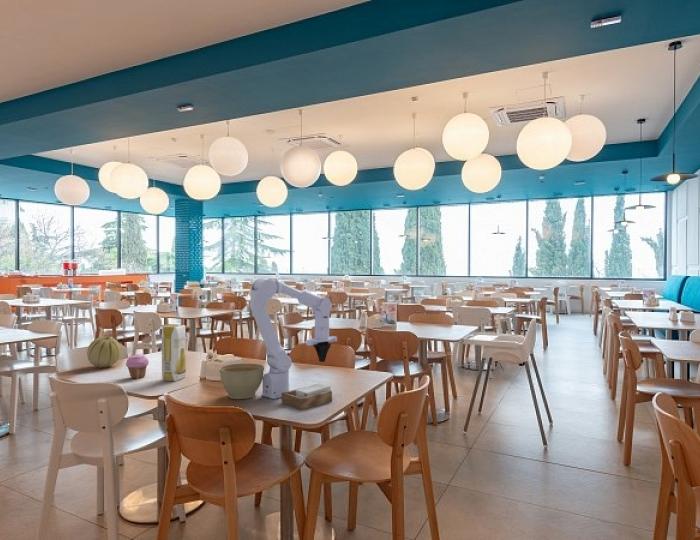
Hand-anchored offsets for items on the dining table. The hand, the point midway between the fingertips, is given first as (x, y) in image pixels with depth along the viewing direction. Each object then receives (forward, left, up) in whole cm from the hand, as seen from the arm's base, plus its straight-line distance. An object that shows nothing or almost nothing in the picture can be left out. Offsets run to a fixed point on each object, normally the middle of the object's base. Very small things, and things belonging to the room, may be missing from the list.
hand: (322, 361), depth 187 cm
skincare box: (-8, -11, -7) cm, 16 cm away
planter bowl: (-29, +12, -11) cm, 33 cm away
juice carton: (-35, +56, -11) cm, 67 cm away
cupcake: (-45, +70, -11) cm, 84 cm away
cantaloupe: (-48, +103, -11) cm, 114 cm away
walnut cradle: (-17, -11, -10) cm, 23 cm away
